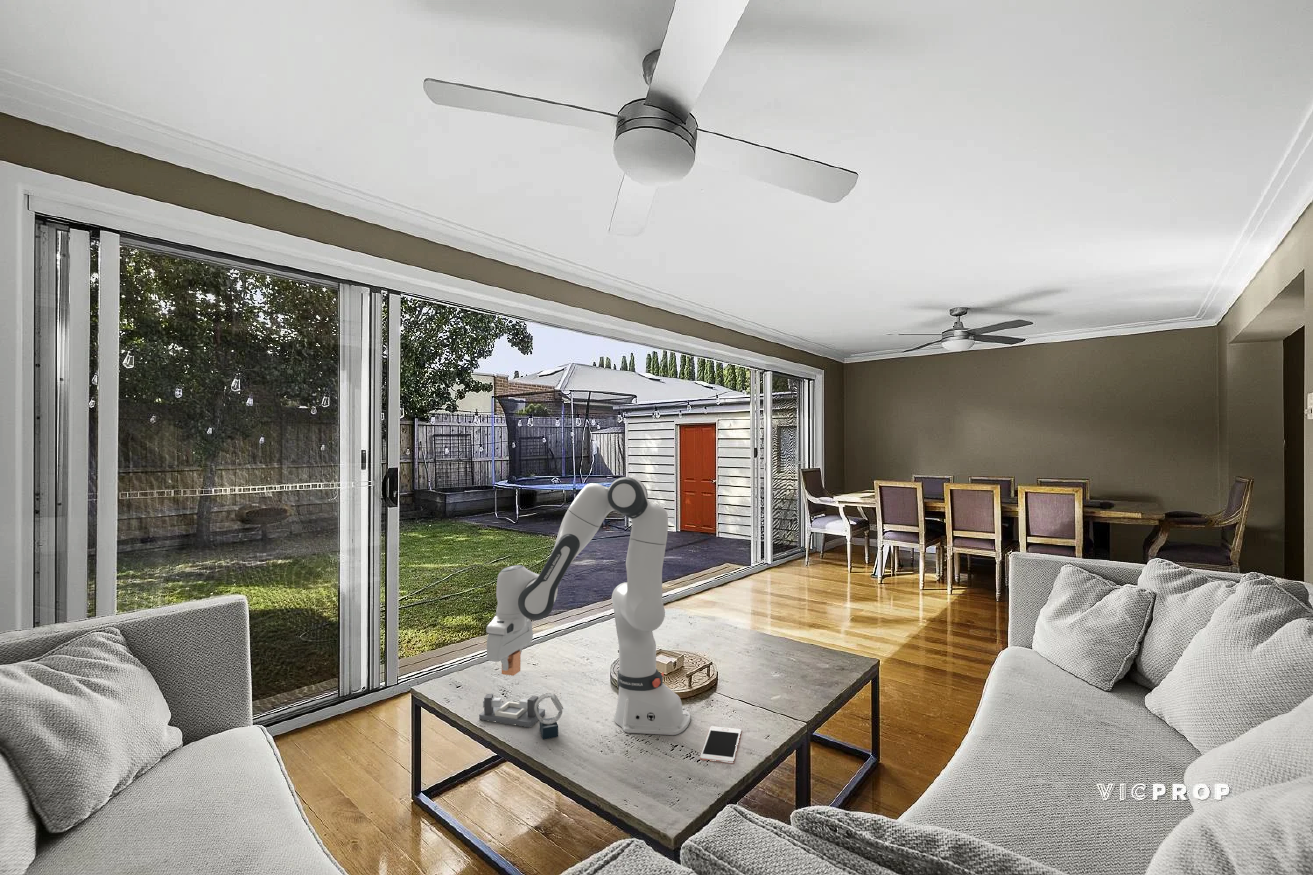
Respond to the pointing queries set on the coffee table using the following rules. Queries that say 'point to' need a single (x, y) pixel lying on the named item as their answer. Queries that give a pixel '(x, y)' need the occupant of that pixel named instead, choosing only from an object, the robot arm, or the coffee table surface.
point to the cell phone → (721, 744)
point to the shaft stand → (511, 711)
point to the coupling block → (513, 663)
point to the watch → (550, 724)
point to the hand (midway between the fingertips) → (511, 666)
